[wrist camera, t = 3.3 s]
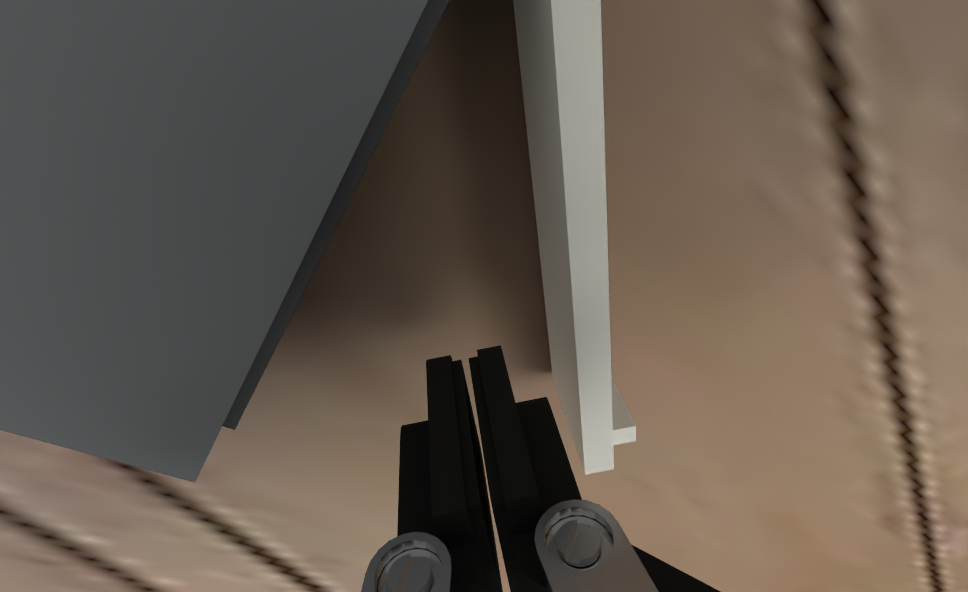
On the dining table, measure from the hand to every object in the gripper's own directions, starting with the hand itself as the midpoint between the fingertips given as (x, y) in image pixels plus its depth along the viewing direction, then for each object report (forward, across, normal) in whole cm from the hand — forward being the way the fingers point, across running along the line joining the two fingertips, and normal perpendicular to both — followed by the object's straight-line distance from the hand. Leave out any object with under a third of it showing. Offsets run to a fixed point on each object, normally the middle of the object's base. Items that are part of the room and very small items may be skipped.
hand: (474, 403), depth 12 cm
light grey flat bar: (+4, -3, -3) cm, 6 cm away
